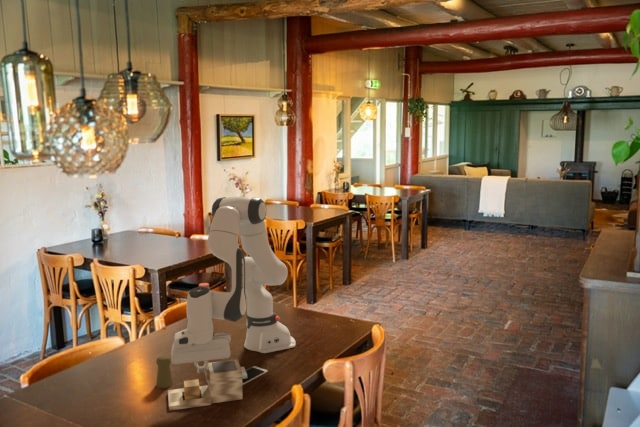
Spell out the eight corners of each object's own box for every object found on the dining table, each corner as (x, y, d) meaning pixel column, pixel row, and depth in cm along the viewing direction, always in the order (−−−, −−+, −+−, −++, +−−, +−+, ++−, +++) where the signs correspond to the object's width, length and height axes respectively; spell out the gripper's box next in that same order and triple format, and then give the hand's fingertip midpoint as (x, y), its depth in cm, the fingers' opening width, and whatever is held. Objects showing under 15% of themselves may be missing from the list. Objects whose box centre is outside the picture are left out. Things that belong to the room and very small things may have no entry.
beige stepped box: (237, 385, 204) (237, 357, 202) (243, 400, 192) (242, 371, 190) (168, 394, 196) (166, 365, 195) (169, 410, 185) (167, 380, 183)
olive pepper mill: (174, 380, 207) (173, 353, 205) (171, 388, 201) (169, 359, 199) (158, 380, 207) (157, 353, 205) (154, 388, 201) (153, 360, 199)
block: (198, 394, 196) (198, 379, 195) (199, 401, 191) (199, 385, 190) (184, 396, 195) (183, 380, 194) (185, 403, 190) (184, 387, 189)
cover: (244, 369, 201) (243, 358, 200) (247, 378, 194) (247, 367, 193) (205, 373, 197) (204, 363, 196) (207, 383, 190) (206, 372, 189)
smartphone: (268, 370, 215) (241, 384, 203) (268, 371, 216) (241, 386, 203) (254, 365, 220) (227, 379, 208) (254, 367, 220) (227, 381, 208)
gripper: (229, 328, 196) (230, 364, 199) (170, 334, 191) (171, 371, 193) (231, 334, 190) (232, 372, 193) (170, 340, 185) (172, 379, 187)
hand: (201, 372), depth 193 cm, fingers closed
